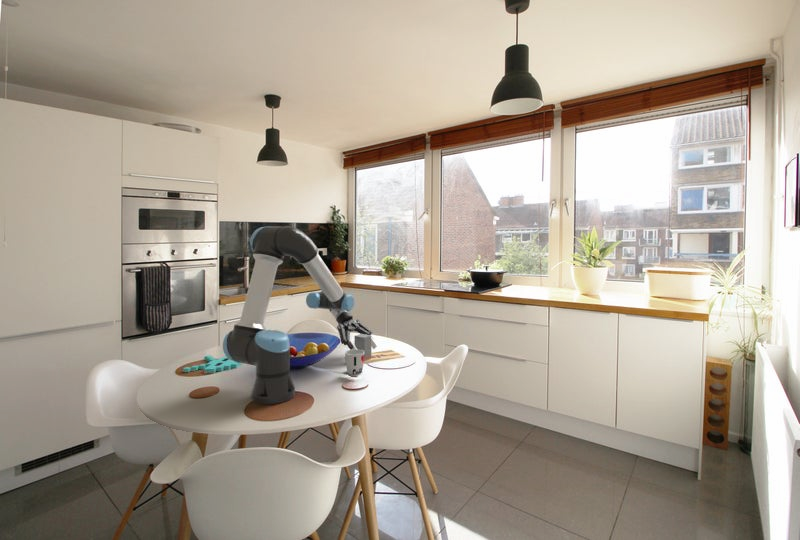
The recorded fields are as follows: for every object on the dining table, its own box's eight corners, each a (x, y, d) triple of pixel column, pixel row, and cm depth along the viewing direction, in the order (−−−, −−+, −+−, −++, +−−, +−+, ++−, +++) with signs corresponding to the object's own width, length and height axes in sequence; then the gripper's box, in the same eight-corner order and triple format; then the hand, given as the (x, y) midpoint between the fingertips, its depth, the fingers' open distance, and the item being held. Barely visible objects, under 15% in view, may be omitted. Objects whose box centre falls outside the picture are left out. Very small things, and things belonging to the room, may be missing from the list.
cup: (352, 380, 164) (352, 356, 163) (341, 375, 170) (341, 351, 169) (368, 375, 169) (368, 352, 169) (357, 370, 176) (357, 348, 175)
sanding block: (371, 358, 189) (371, 335, 188) (364, 361, 184) (364, 337, 184) (361, 356, 192) (361, 333, 191) (354, 359, 188) (354, 335, 187)
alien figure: (183, 373, 172) (229, 374, 172) (183, 368, 172) (229, 369, 172) (206, 359, 192) (248, 360, 192) (206, 355, 192) (248, 355, 192)
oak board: (405, 359, 192) (405, 356, 192) (359, 367, 180) (359, 364, 180) (391, 352, 204) (391, 349, 204) (347, 359, 192) (347, 356, 192)
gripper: (354, 315, 206) (378, 349, 199) (319, 324, 185) (344, 362, 178) (362, 306, 203) (387, 340, 195) (327, 314, 182) (353, 352, 175)
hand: (366, 350), depth 187 cm, fingers open, 13 cm apart
